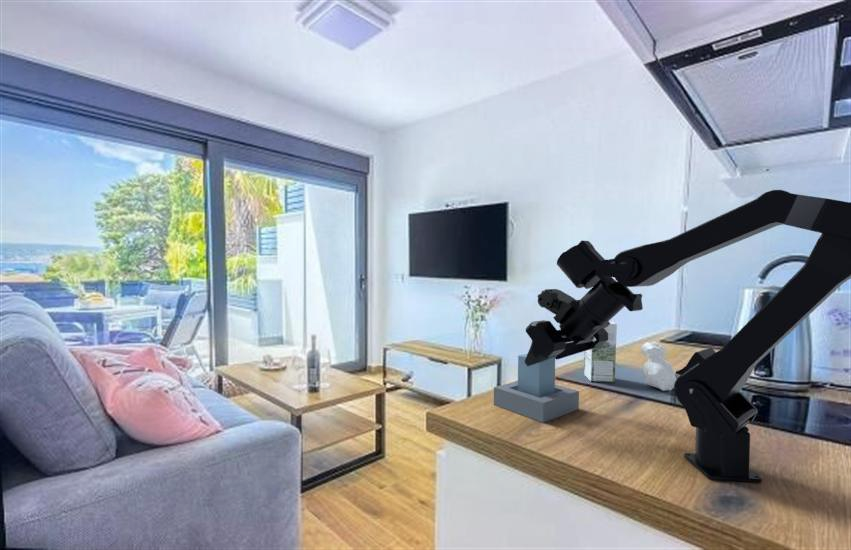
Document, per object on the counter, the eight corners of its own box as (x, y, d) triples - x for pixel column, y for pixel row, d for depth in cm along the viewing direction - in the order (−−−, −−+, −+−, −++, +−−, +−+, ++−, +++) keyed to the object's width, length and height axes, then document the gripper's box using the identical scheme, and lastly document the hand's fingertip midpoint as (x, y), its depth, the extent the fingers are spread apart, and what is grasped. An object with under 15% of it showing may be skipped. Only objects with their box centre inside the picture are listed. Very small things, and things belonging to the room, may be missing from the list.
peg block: (554, 408, 79) (555, 356, 78) (538, 413, 75) (539, 360, 75) (533, 401, 82) (534, 352, 82) (517, 406, 79) (518, 355, 79)
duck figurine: (662, 389, 99) (632, 349, 103) (692, 375, 95) (659, 334, 99) (652, 402, 89) (619, 357, 93) (684, 386, 85) (649, 340, 90)
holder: (578, 409, 78) (579, 391, 78) (542, 422, 71) (543, 403, 71) (529, 393, 87) (530, 377, 87) (493, 404, 80) (493, 387, 80)
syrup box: (607, 376, 102) (608, 319, 101) (615, 383, 96) (617, 322, 95) (583, 375, 102) (584, 318, 102) (590, 382, 96) (592, 322, 96)
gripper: (593, 274, 79) (545, 324, 88) (535, 274, 68) (486, 332, 77) (634, 318, 73) (578, 367, 82) (577, 326, 62) (519, 382, 70)
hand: (541, 360), depth 78 cm, fingers open, 9 cm apart
